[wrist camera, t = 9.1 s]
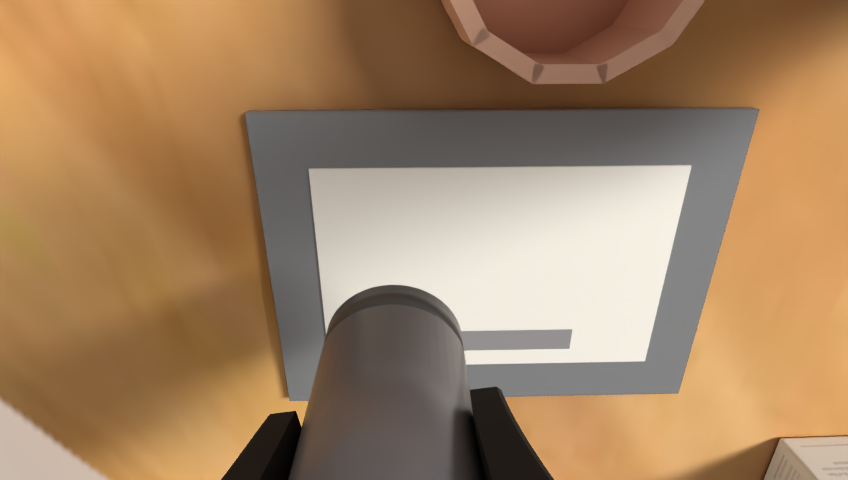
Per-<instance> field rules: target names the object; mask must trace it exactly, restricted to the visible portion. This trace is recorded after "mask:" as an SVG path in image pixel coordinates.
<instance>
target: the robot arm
mask: <svg viewBox="0 0 848 480" xmlns="http://www.w3.org/2000/svg"><path fill="white" fill-rule="evenodd" d="M470 397H471V404H472V412H473V419H474V426H475V433H476V440H477V446H478V452H479V457H480V463H481V468H482V474H483V480H554V479H553V478H552V476H551V475H550V473H549V472H548V471H547V469H546V468H545V466H544V465H543V463H542V462H541V460H540V459H539V457H538V456H537V454H536V453H535V451H534V450H533V448H532V447H531V445H530V444H529V442H528V440H527V439H526V437H525V436H524V434H523V432H522V430H521V429H520V427H519V425H518V424H517V422H516V420H515V418H514V416H513V414H512V413H511V411H510V409H509V407H508V405H507V402H506V400H505V398H504V396H503V393H502V390H501V389H499V388H498V387H488V388H480V389H472V390H470ZM301 429H302V428H301V425H300V422H299V419H298V416H297V413H296V411H292V412H284V413H275V414H270V415H269V416H268V417H267V419H266V420H265V421H264V423H263V424H262V425H261V427H260V428H259V429H258V431H257V432H256V433H255V435H254V436H253V438H252V439H251V440H250V442H249V443H248V444H247V446H246V447H245V448H244V450H243V451H242V453H241V454H240V455H239V457H238V458H237V459H236V461H235V462H234V463H233V465H232V466H231V467H230V469H229V470H228V471H227V473H226V474H225V475H224V477H223V478H222V479H221V480H288V478H289V474H290V470H291V467H292V463H293V459H294V455H295V451H296V448H297V444H298V440H299V436H300V432H301Z"/></svg>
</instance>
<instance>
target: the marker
mask: <svg viewBox="0 0 848 480" xmlns="http://www.w3.org/2000/svg"><path fill="white" fill-rule="evenodd" d="M288 480H483V474H482V468H481V463H480V457H479V452H478V446H477V440H476V433H475V426H474V419H473V412H472V404H471V397H470V387H469V380H468V374H467V367H466V360H465V354H464V347H463V340H462V334H461V329H460V326H459V323H458V321H457V319H456V317H455V315H454V314H453V312H452V311H451V310H450V309H449V307H448V306H447V305H446V304H444V303H443V302H442V301H441V300H440V299H438V298H437V297H435V296H434V295H432V294H430V293H428V292H426V291H423V290H421V289H418V288H414V287H410V286H404V285H383V286H377V287H372V288H369V289H366V290H363V291H361V292H359V293H357V294H355V295H354V296H352V297H350V298H349V299H348V300H346V301H345V302H344V303H343V304H342V305H341V306H340V307H339V308H338V309H337V310H336V312H335V313H334V315H333V316H332V318H331V321H330V323H329V326H328V329H327V333H326V337H325V341H324V345H323V348H322V352H321V356H320V360H319V364H318V368H317V371H316V375H315V379H314V383H313V387H312V390H311V394H310V398H309V402H308V406H307V409H306V413H305V417H304V421H303V425H302V429H301V432H300V436H299V440H298V444H297V448H296V451H295V455H294V459H293V463H292V467H291V470H290V474H289V478H288Z"/></svg>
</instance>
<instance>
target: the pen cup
mask: <svg viewBox="0 0 848 480" xmlns="http://www.w3.org/2000/svg"><path fill="white" fill-rule="evenodd" d="M441 1H442V4H443V6H444V8H445V10H446V12H447V14H448V16H449V17H450V19H451V21H452V22H453V24H454V26H455V28H456V30H457V32H458V34H459V36H460V38H461V40H463V41H465V42H466V43H468V44H469V45H471V46H472V47H475V48H477V49H478V50H480V51H481V52H483V53H485V54H486V55H488V56H489V57H491V58H493V59H494V60H496V61H497V62H499V63H500V64H502V65H504V66H505V67H507V68H508V69H509V70H510V71H512V72H514V73H515V74H517V75H518V76H520V77H521V78H523V79H525V80H526V81H528V82H529V83H531V84H605V83H606V82H608V81H610V80H611V79H613V78H615V77H617V76H618V75H620V74H622V73H624V72H626V71H627V70H629V69H631V68H633V67H635V66H636V65H638V64H640V63H642V62H643V61H645V60H647V59H649V58H651V57H652V56H654V55H656V54H658V53H660V52H661V51H663V50H665V49H667V48H668V47H670V46H672V45H674V43H675V41H676V40H677V38H678V37H679V36H680V34H681V33H682V32H683V30H684V29H685V27H686V26H687V25H688V23H689V22H690V21H691V19H692V18H693V17H694V15H695V14H696V12H697V11H698V10H699V8H700V7H701V6H702V4H703V3H704V1H705V0H441Z"/></svg>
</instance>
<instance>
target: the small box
mask: <svg viewBox="0 0 848 480" xmlns="http://www.w3.org/2000/svg"><path fill="white" fill-rule="evenodd" d="M764 480H848V436H836V437H806V438H781V439H780V440H779V443H778V445H777V448H776V450H775V453H774V455H773V457H772V460H771V463H770V465H769V467H768V470H767V473H766V475H765V477H764Z"/></svg>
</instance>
